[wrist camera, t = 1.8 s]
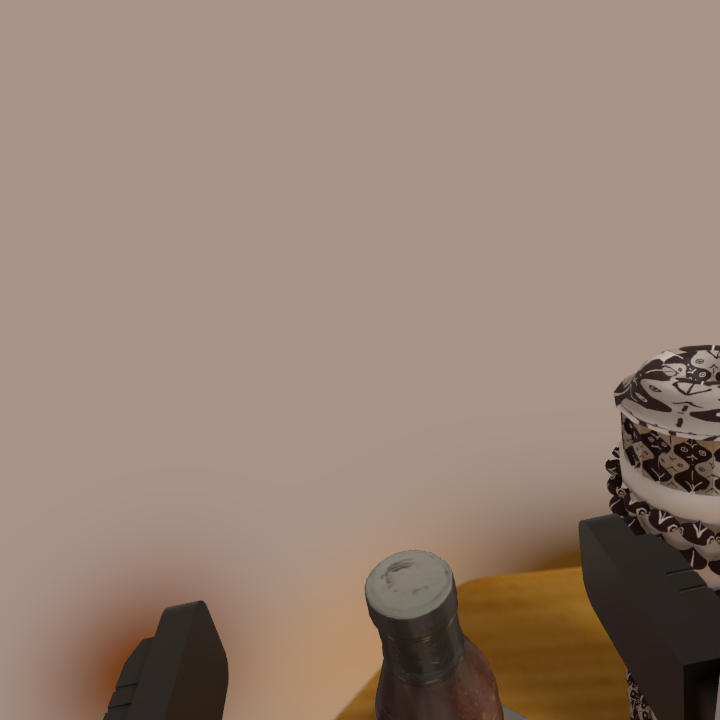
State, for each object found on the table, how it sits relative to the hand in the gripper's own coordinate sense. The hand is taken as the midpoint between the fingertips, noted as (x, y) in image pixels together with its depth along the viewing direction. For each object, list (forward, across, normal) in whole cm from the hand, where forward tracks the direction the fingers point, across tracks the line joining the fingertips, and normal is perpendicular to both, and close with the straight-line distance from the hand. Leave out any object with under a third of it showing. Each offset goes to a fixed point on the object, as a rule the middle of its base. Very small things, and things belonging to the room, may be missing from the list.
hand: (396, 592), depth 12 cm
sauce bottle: (+11, 0, +29) cm, 31 cm away
